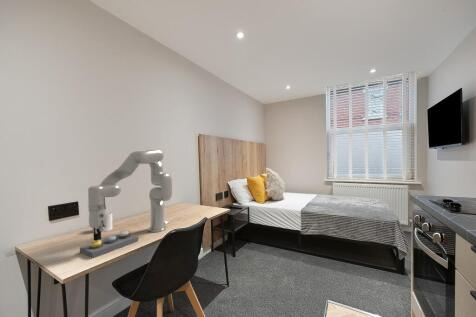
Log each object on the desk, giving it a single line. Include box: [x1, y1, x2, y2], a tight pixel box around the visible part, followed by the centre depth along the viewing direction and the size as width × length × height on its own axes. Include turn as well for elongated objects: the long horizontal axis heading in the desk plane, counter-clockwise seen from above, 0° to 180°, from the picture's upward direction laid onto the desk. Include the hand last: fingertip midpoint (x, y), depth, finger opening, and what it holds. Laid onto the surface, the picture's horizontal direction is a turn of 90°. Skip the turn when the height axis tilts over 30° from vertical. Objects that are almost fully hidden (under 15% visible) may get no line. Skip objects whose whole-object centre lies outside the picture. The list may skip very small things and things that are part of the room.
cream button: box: [119, 229, 130, 236], centre depth 127 cm, size 5×5×2 cm
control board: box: [79, 233, 139, 259], centre depth 120 cm, size 26×14×3 cm, turn 150°
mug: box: [101, 211, 114, 233], centre depth 150 cm, size 12×8×12 cm
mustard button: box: [90, 239, 102, 247], centre depth 113 cm, size 5×5×2 cm
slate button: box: [105, 235, 117, 242], centre depth 120 cm, size 5×5×2 cm
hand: (97, 239), depth 114 cm, fingers closed
